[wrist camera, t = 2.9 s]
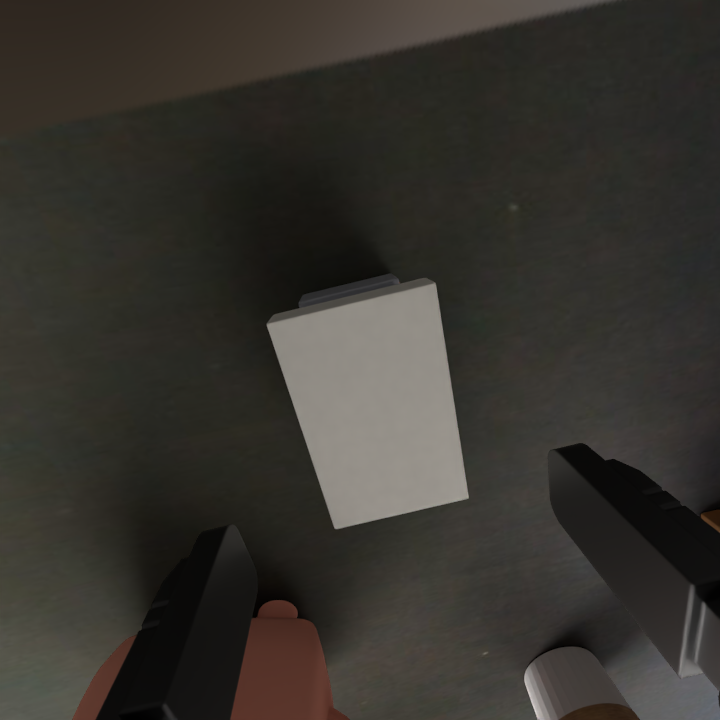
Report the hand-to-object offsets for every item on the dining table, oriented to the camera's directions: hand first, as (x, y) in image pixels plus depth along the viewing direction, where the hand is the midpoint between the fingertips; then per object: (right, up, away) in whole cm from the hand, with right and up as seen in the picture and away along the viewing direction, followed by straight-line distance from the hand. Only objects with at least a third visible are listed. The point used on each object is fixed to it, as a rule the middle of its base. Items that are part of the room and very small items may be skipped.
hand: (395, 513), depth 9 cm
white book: (0, +2, +6) cm, 6 cm away
